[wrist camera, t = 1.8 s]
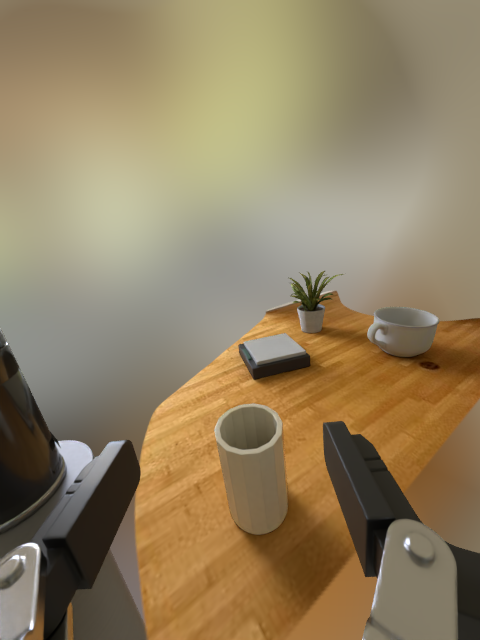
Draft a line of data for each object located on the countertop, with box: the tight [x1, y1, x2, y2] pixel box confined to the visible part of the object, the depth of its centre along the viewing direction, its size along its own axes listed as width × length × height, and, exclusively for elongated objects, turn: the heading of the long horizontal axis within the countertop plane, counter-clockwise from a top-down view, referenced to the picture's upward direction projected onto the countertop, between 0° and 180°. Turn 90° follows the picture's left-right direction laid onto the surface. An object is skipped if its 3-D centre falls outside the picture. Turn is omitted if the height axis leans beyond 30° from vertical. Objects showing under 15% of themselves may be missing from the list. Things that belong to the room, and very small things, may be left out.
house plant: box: [290, 271, 342, 333], centre depth 65 cm, size 14×14×16 cm
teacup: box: [367, 307, 439, 357], centre depth 50 cm, size 14×11×8 cm
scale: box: [238, 333, 310, 379], centre depth 54 cm, size 12×12×3 cm
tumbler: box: [214, 404, 288, 535], centre depth 24 cm, size 6×6×10 cm
